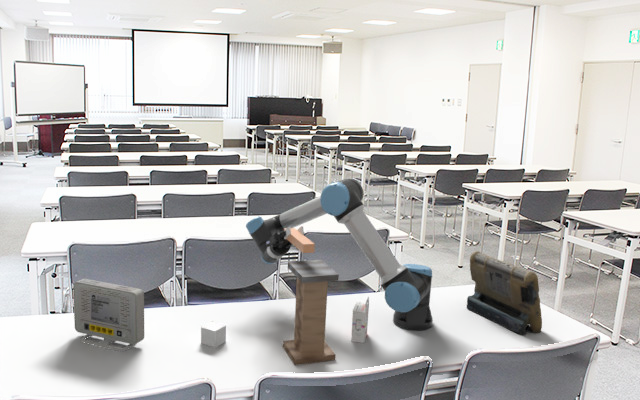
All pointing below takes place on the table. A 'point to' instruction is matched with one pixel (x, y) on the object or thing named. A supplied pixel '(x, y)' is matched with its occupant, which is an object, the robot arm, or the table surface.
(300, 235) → the bar
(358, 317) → the ink cartridge box
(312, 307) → the wooden pedestal stand
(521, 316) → the tablet
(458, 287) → the table surface
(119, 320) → the network device
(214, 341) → the white cube
